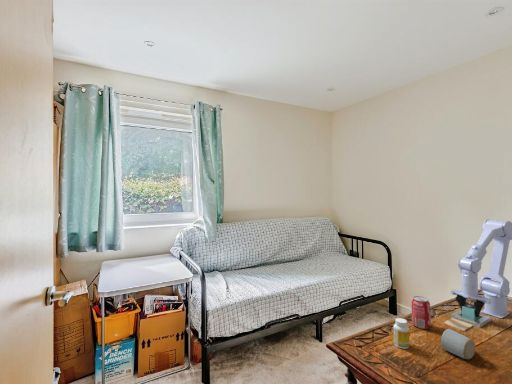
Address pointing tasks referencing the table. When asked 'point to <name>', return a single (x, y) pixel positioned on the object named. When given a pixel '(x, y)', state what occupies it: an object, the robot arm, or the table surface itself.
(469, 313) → the teal cube with dome
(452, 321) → the cork coaster
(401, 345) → the supplement bottle
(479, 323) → the block
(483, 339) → the table surface
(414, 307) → the soda can
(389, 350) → the table surface
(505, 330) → the table surface
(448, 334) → the grey cylinder
